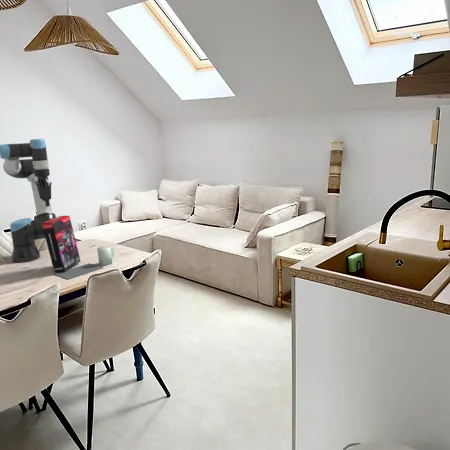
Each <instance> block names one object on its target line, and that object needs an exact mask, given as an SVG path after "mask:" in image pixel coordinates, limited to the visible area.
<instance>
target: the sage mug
mask: <svg viewBox="0 0 450 450" xmlns="http://www.w3.org/2000/svg"><path fill="white" fill-rule="evenodd" d="M96 251H97V258H98V259H97V260H98V266H101V267H105V266H111V265H113V258H115V250H114V247H112V248H111V246H107V245H105V246H100V247H98V248H97V250H96Z"/></svg>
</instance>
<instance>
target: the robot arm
mask: <svg viewBox="0 0 450 450" xmlns="http://www.w3.org/2000/svg"><path fill="white" fill-rule="evenodd" d="M21 158H22V159H21ZM23 158H25V159H23ZM28 158H29V159H28ZM0 159H2V160H3V161H4V162H3V165H2V167H3V171H4V173H5V174H7V175H8V176H10V177H12V178H15V179H27V181H28V182H29V183H30V186H31V189H32V196H33V200H34V206H35V211H36V215H35V217H34V219H32V218H31V217H26V218H19V219H17V220H14V221H12V222H11V223H10V226H9V227H10V233H11V240H12V247H13V249H12V254H11V261H12V262H14V263H26V262H32V261H36V260H37V259H40V258H41V252H40V251H39V249H38V247H37V245H36V240H43V239H46V238H45V234H44V230H43V227H42V223H44V222H46V221H49V220H52V219H54V218H57V217H58V216H56V213H54V212H53V210H52V206H51V205H52V204H51V200H52V184H53V182H52V181H50V180H49V176H51V175H50V168H49V167H50V166H49V160H48V152H47V144H46V141H45V139H44V138H39V139H38V138H33V139H30V140H29V142H26V143H24V142H23V143H22V142H21V143H4V144H0Z"/></svg>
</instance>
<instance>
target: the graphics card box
mask: <svg viewBox="0 0 450 450" xmlns="http://www.w3.org/2000/svg"><path fill="white" fill-rule="evenodd" d="M70 216H71V215H59V216H56V217H57V218H54V219H52V220H49V221H46V222H44V223H42V227H43V230H44V234H45V238H44V239H45V242H46V245H47V249H48V254H49V256H50V261H51V264H52V268H53V271H54V273H60V272H64V271H66V270H69V269H72V267H74V266H76V265H77V264H78V263H80V262H81V257H80V253H79V249H78V246H77V245H78V244H77V241H76V236H75V232H74V229H73V223H72V221H71V217H70Z"/></svg>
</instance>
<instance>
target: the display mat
mask: <svg viewBox="0 0 450 450" xmlns="http://www.w3.org/2000/svg"><path fill="white" fill-rule="evenodd" d="M100 269H104V266H100V265H97V264H93V263H90V262H89V263H86V264H83V265H80V266H76V267H73V268H69V269H68V270H66V271H64V272H56V273H54V276H56V277H59V278H62V279H65V280H68V281H69V280H72V279H75V278H78V277H80V276H83V275H87V274H89V273H92V272H95V271H98V270H100Z"/></svg>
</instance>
